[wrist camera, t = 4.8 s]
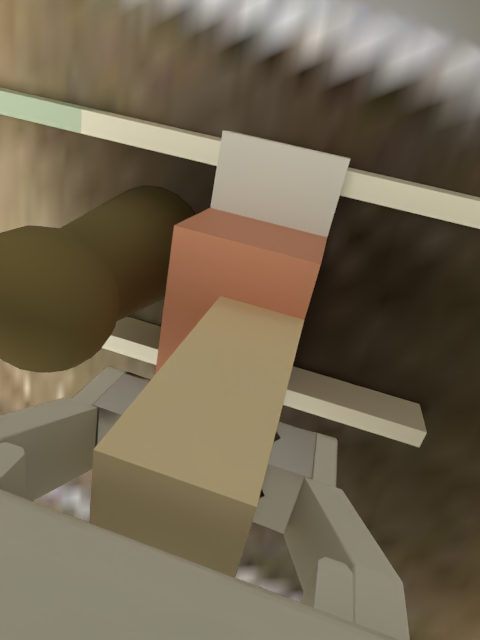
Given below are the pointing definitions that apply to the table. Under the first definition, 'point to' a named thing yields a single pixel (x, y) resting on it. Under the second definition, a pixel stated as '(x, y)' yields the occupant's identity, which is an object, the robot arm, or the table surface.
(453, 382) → the table surface
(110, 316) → the olive rounded upright piece
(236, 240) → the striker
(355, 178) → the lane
